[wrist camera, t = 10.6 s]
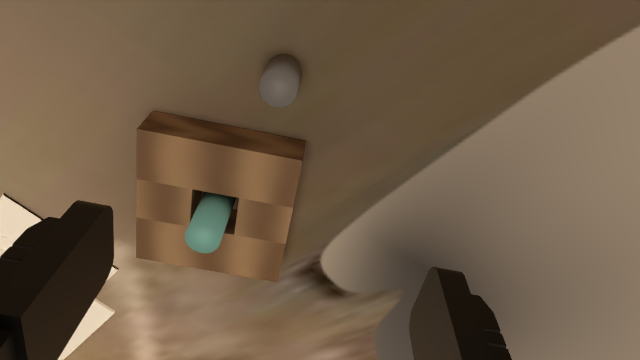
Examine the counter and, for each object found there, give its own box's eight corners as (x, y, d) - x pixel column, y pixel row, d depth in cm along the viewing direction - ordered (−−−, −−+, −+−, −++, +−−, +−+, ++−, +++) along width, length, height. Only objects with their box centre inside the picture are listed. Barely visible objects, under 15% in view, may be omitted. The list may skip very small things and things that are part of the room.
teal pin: (206, 199, 47) (183, 249, 40) (208, 174, 45) (185, 221, 38) (235, 204, 47) (218, 255, 40) (239, 179, 45) (221, 228, 39)
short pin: (264, 84, 41) (256, 103, 37) (269, 50, 39) (261, 66, 35) (298, 91, 41) (294, 110, 37) (304, 58, 39) (300, 74, 35)
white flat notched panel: (147, 280, 53) (134, 304, 50) (36, 380, 65) (20, 405, 62) (-25, 167, 47) (-52, 187, 43) (-114, 301, 58) (-141, 325, 55)
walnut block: (150, 233, 49) (136, 257, 46) (153, 110, 42) (136, 128, 39) (281, 256, 50) (277, 282, 47) (305, 140, 43) (302, 160, 40)
